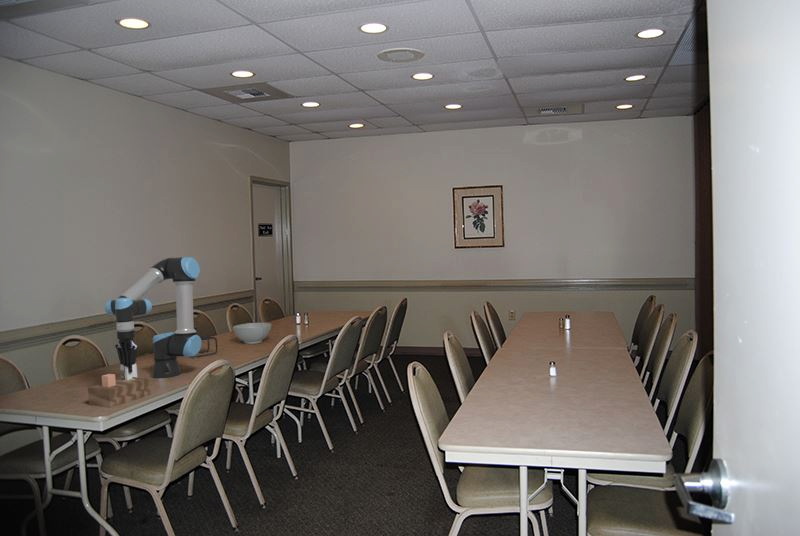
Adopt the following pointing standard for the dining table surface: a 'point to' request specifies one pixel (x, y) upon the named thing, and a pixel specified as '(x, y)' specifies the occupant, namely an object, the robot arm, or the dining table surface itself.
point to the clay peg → (108, 380)
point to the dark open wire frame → (208, 344)
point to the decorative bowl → (252, 332)
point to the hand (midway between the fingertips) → (128, 379)
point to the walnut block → (119, 392)
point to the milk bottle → (134, 371)
